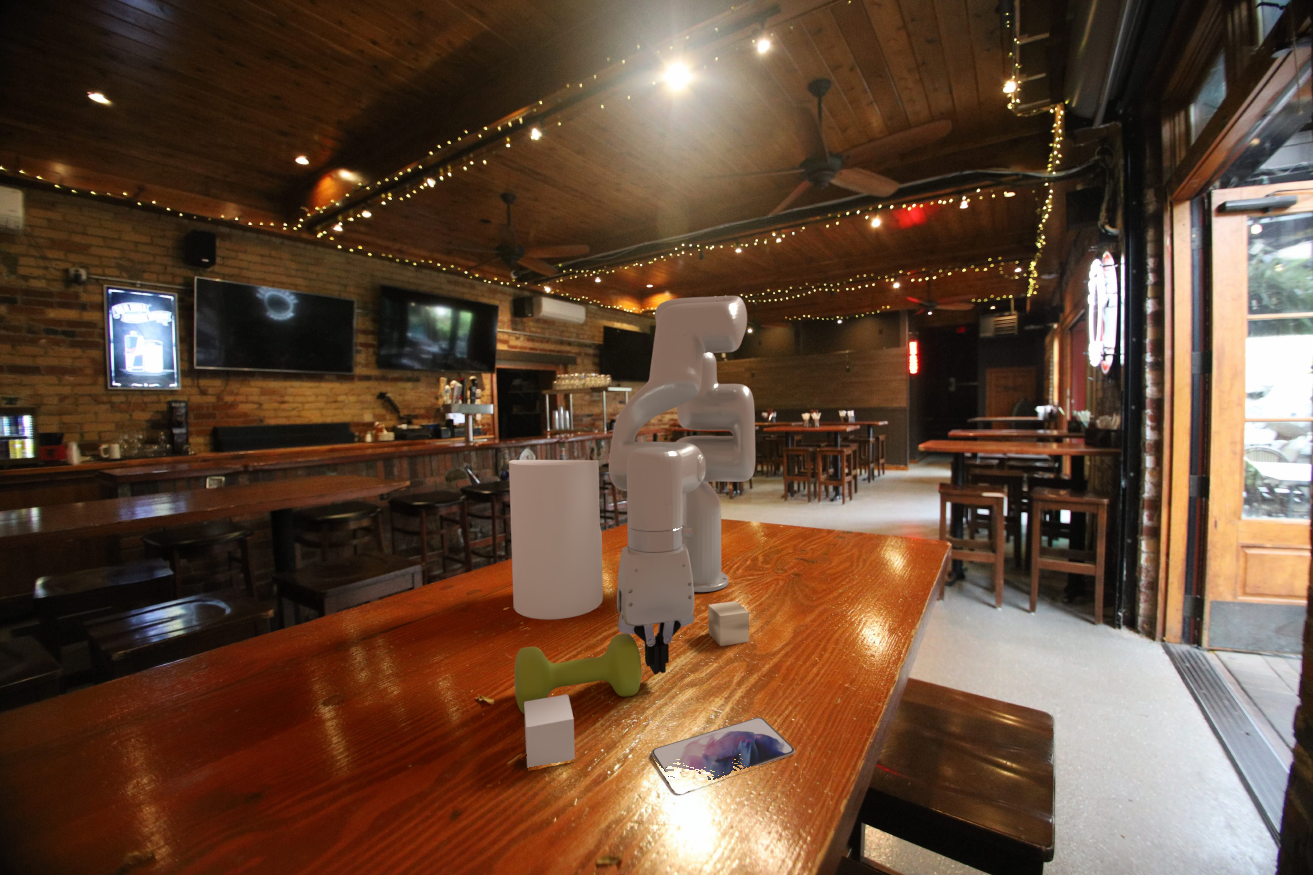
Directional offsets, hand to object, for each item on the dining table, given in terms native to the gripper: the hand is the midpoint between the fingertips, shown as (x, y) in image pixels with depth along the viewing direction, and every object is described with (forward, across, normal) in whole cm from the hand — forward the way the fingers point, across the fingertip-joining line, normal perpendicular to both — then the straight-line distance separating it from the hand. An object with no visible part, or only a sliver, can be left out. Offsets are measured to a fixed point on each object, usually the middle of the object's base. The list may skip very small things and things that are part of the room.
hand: (656, 668), depth 73 cm
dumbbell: (+3, +11, 0) cm, 11 cm away
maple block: (+2, -15, -10) cm, 18 cm away
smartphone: (+3, -3, +16) cm, 17 cm away
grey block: (+2, +16, +10) cm, 19 cm away
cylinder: (+2, +10, -35) cm, 36 cm away
